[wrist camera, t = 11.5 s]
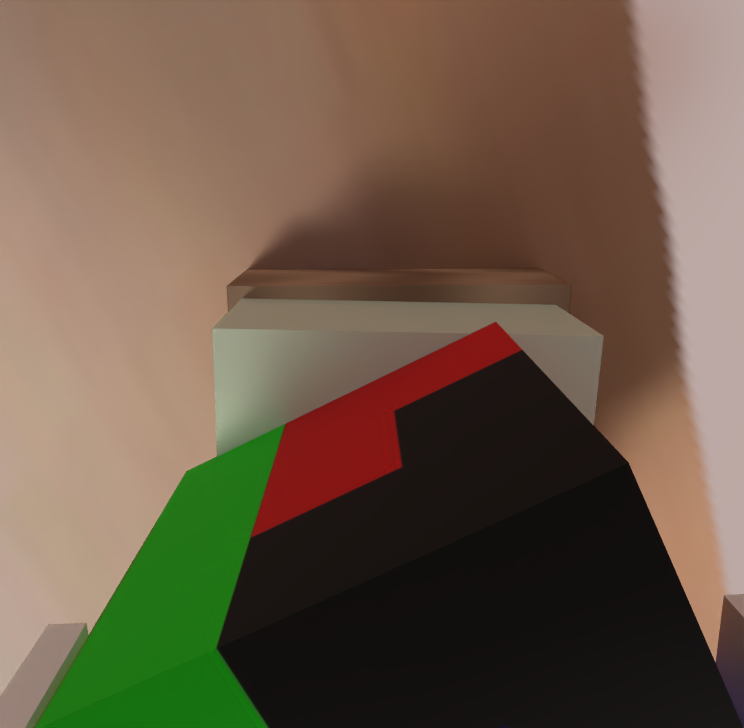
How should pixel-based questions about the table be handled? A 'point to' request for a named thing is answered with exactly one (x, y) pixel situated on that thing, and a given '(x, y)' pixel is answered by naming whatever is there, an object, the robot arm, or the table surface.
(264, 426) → the top slab
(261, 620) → the puzzle toy
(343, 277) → the bottom slab
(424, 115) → the table surface
